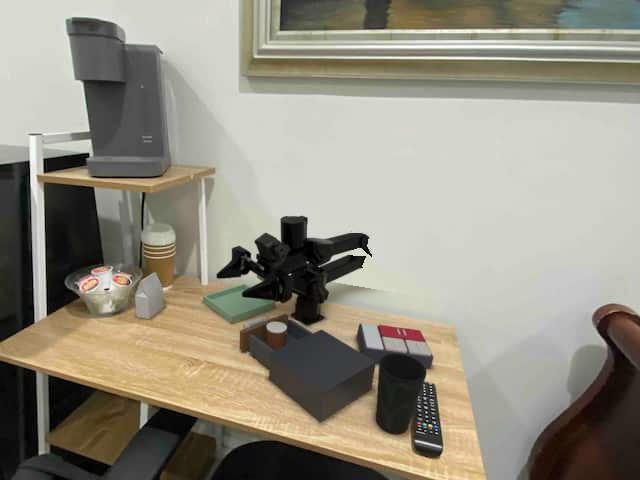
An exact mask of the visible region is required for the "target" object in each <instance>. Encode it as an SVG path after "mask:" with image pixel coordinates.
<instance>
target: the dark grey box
mask: <svg viewBox="0 0 640 480" xmlns="http://www.w3.org/2000/svg"><path fill="white" fill-rule="evenodd" d="M376 365H377V364H376V362H375V361H374V360H372V359H370V358H369V357H367V356H365V355H364V354H362V353H360V350H357V349H355V348H353V347H352V346H350V345H349V344H347V343H345V342H344V341H343V340H340V339H338V338H337V337H335V336H333V335H332V334H331V333H328V331H325V330H323V328H322V329H319V330H316V331H315V332H312V334H310V335H308V336H306V337H303V338H301V339H299V340H297V341H294V342H292V343H290V344H288V345H285V346H283V347H281V348H279V349H276V350H274V351H272V352H270V368H268V369H269V371H268V380H269V381H270V382H271V383H272V384H273V385H275V386H276V387H277V388H278V389H280V391H282V392H283V393H284V394H285V395H286V396H288V397H289V398H290V399H291V400H293V401H294V402H295V403H296V404H298V405H299V406H300V407H301V408H302V409H304V410H305V411H306V412H307V413H308V414H310V416H312V417H313V418H314V419H315V420H316V421H318V422H319V423H323V422H324V421H325V420H327V419H328V418H330V417H332V416H333V415H336V413H338V412H339V411H341V410H343V409H344V408H346V407H347V406H349V405H350V404H351V403H353V402H354V401H356V400H358V399H359V398H361V397H363V395H365V394H366V393H368V392H370V391H371V390H372V387H373V382H374V376H375V369H376Z"/></svg>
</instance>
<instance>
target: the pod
mask: <svg viewBox="0 0 640 480" xmlns="http://www.w3.org/2000/svg"><path fill="white" fill-rule="evenodd" d="M266 328H267V330H266V345H267V346H269V347H270V348H271V349H274V350H276V349H279V348H281V347H283V346H285V344H286V329H287V326H286V325H285V324H284V323H282V322H270V323H268V324H267V326H266Z"/></svg>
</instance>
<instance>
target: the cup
mask: <svg viewBox="0 0 640 480" xmlns="http://www.w3.org/2000/svg"><path fill="white" fill-rule="evenodd" d="M427 372H428V371H427V368H425V367H424V366H423V364H421V363H420V362H419V361H418V360H416V359H415V358H412V357H410V356H407V355H404V354H396V353H393V354H387V355H385V356H383V357H382V358H381V359H380V361H379V364H378V376H377V393H376V409H375V410H376V411H375V422H376V425H377V426H378V427H379V428H380V429H381V430H382V431H383V432H385V433H388V434H390V435H402V434H404V433H406V432H407V431H408V429H409V426H410V424H411V423H410V422H411V420H412V417H413V414H414V411H415V409H416V406H417V403H418V400H419V397H420V394H421V391H422V389H423V385H424V383H425V381H426V378H427Z"/></svg>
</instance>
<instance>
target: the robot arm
mask: <svg viewBox="0 0 640 480" xmlns="http://www.w3.org/2000/svg"><path fill="white" fill-rule="evenodd" d="M308 219H309V218H308V217H307V216H304V215H299V216H298V215H289V216H288V215H284V216H281V218H280V223H279V224H280V240H279V239H278V238H277V237H276V236H273V235H272V234H270V233H269V232H263V233H262V234H261V235H260V236H258V237H257V238H256V239H254V241H253V242H254V245H256V249H257V252H258V253H256V254H255V260H254V259H252V252H251V251H249V250H248V249H246V248H244V247H242V245H237V246H234V247H232V248H231V259H230V261H229V262H228V263H227V264H226V265H225V266H224V267H222V268H221V269H220V270H219V271H218V272H217V273H216V279H218V280H221V279H222V280H223V279H224V280H225V279H235V278H242V276H246V275H249V273H250V272H252V273H253V274H255V275H256V278H257V279H258V280H259V281H260V282H259V283H257V284H254V285H252V286H249V287H250V288H248V289H246V290H245V291H243V292H242V297H245V298H257V299H265V300H272V301H275V303H277V302H279V303H281V304H285V303H287V302H290V301H291V300H292V298H293V294H294V295H297V296H296V297H295V300H296V301H295V303H294V311H293V312H291V313H290V316H291V317H292V318H294V319H296V320H297V321H299V322H301V323H302V324H304V325H306V326H310V325H312V324H314V323H316V322H319V321H321V320H324V319H325V316H324V315H322V314H321V309H322V305H323V304H325V302H326V301H327V300H328V298H329V296H330V291H329V290H328V289H327V288H326V287H327V285H328V284H329V283H332V282H334V281H336V280H339V279H341V278H343V277H345V276H347V275H349V274H351V273H354V272H355V271H357V270H362V269H361V268H363V267H362V265H363V263H364V260H365V258H366V256H353V255H349V254H347V255H344V256H342V257H339V258H336V259H334V260H332V258H333V257H334V256H337V255H341V254H344V253H347V252H351V250H354V249H357V248H362V249H363V250H364V251H365V252H366V253H367V254H369V255H370V256H371V257H372V254H371V253H370V251H369V249H368V247H367V244H368V239H369V238H370V236H369V235H368V234H367V235H366V233H364V232H361V233H350V232H348V233H344V234H343V233H342V234H339V235H336V236H331V237H328V238H319V237H308V222H309V220H308ZM363 233H364V234H363ZM331 260H332V261H331Z"/></svg>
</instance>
